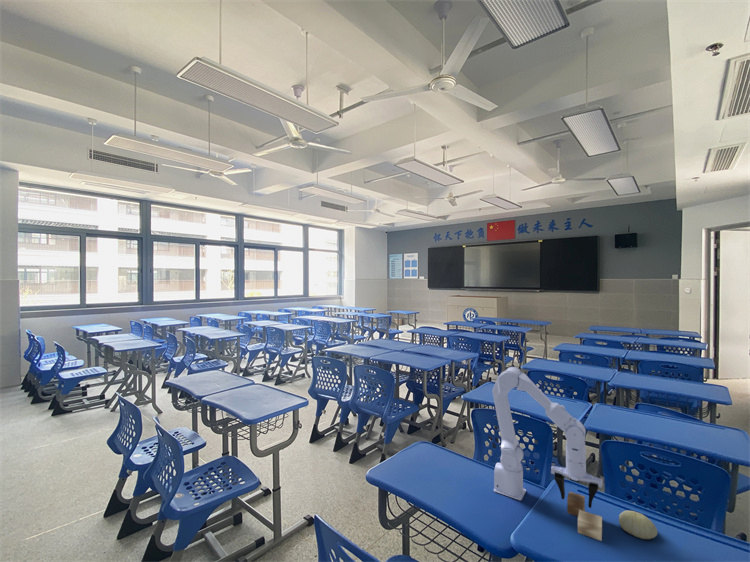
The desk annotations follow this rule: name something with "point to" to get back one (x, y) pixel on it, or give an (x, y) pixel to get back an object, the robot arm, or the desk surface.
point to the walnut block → (575, 503)
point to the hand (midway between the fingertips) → (576, 501)
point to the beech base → (590, 525)
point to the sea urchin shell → (637, 524)
